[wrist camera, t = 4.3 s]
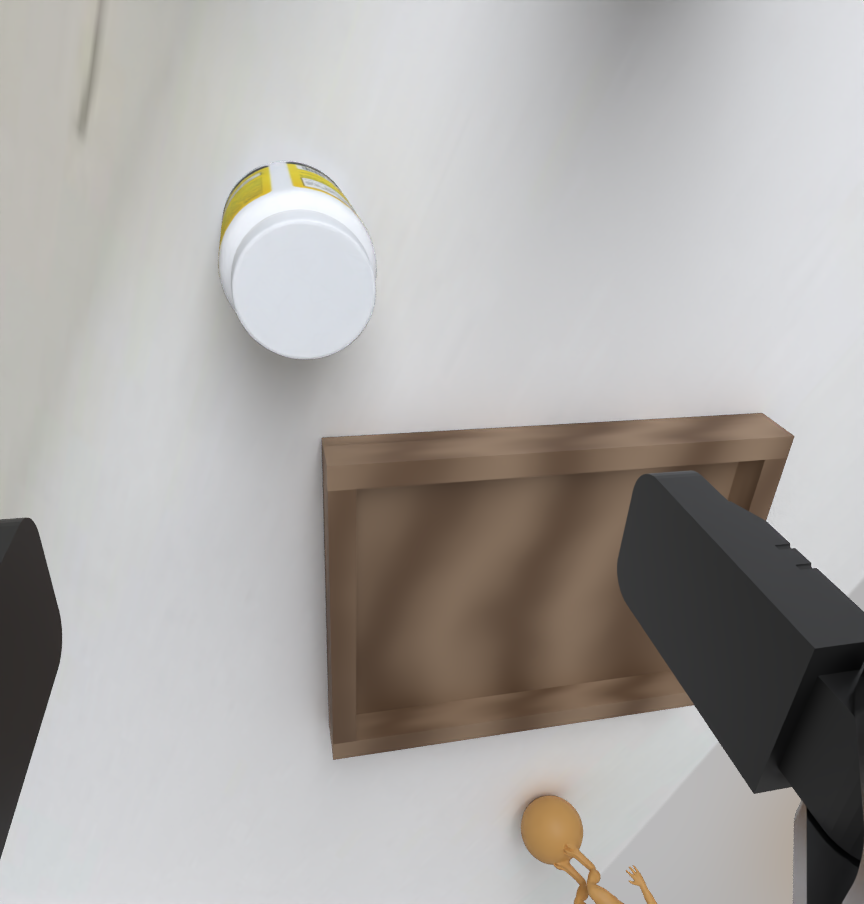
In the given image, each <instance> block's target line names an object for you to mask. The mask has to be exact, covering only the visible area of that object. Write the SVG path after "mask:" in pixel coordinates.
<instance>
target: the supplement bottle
mask: <svg viewBox="0 0 864 904" xmlns="http://www.w3.org/2000/svg"><path fill="white" fill-rule="evenodd" d="M218 268H219V275H220V280H221V284H222V287H223V290H224V293H225V295H226V297H227V299H228V301H229V303H230V305H231V306H232V308H233V309H234V311H235V312H236V314H237V316H238V318H239V320H240V322H241V323H242V325H243V327H244V328H245V329H246V331H247V332H248V333H249V335H250V336H251V337H252V338H253V339H254V340H256V341H257V342H258V343H259V344H260V345H262V346H263V347H265V348H266V349H268V350H270V351H272V352H274V353H276V354H279V355H281V356H284V357H288V358H293V359H317V358H322V357H326V356H329V355H332V354H334V353H336V352H339V351H340V350H342V349H344V348H345V347H347V346H348V345H350V344H351V343H352V342H353V341H354V340H355V339H356V338H357V337H358V336H359V335H360V334H361V333H362V331H363V330H364V328H365V327H366V325H367V323H368V322H369V320H370V317H371V315H372V312H373V308H374V305H375V298H376V282H375V281H376V272H377V268H376V256H375V251H374V247H373V243H372V240H371V238H370V235H369V233H368V231H367V229H366V227H365V226H364V224H363V223H362V221H361V220H360V218H359V217H358V215H357V214H356V212H355V210H354V209H353V207H352V206H351V205H350V203H349V202H348V200H347V199H346V197H345V196H344V194H343V193H342V192H341V190H340V189H339V188H338V186H337V185H336V184H335V183H334V182H333V181H332V180H331V179H330V178H329V177H328V176H327V175H325V174H324V173H322V172H321V171H319V170H318V169H316V168H314V167H312V166H309V165H307V164H303V163H299V162H294V161H276V162H272V163H267V164H264V165H262V166H259V167H257V168H255V169H253V170H252V171H250V172H248V173H247V174H246V175H244V176H243V177H242V178H241V179H240V180H239V181H238V182H237V183H236V185H235V186H234V187H233V189H232V191H231V192H230V194H229V196H228V198H227V201H226V204H225V208H224V212H223V218H222V227H221V237H220V247H219V259H218Z"/></svg>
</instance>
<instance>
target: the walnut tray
mask: <svg viewBox="0 0 864 904" xmlns="http://www.w3.org/2000/svg"><path fill="white" fill-rule="evenodd" d="M793 439H794V436H793V435H792V434H791V433H789V432H788V431H786V430H785V429H784V428H782V427H781V426H780V425H778V424H777V423H775V422H774V421H773V420H771V419H770V418H769V417H767V416H766V415H764V414H763V413H755V414H737V415H719V416H701V417H683V418H666V419H648V420H630V421H612V422H594V423H577V424H559V425H541V426H523V427H505V428H488V429H470V430H452V431H434V432H416V433H399V434H381V435H363V436H345V437H327V438H322V469H323V509H324V548H325V588H326V628H327V667H328V707H329V727H330V736H331V744H332V753H333V760H335V759H342V758H348V757H355V756H362V755H368V754H375V753H381V752H388V751H395V750H401V749H408V748H414V747H421V746H427V745H434V744H441V743H447V742H454V741H460V740H467V739H474V738H480V737H487V736H493V735H500V734H507V733H513V732H520V731H526V730H533V729H539V728H546V727H553V726H559V725H566V724H572V723H579V722H586V721H592V720H599V719H605V718H612V717H618V716H625V715H632V714H638V713H645V712H651V711H658V710H665V709H671V708H678V707H684V706H691V705H694V704H693V702H692V701H691V699H690V698H689V696H688V695H687V693H686V692H685V690H684V689H683V687H682V686H681V685H680V683H679V682H678V680H677V679H676V677H675V676H674V674H673V673H672V671H671V670H670V668H669V667H668V665H667V664H666V662H665V661H664V659H663V658H662V656H661V655H660V653H659V652H658V650H657V649H656V647H655V646H654V644H653V643H652V641H651V640H650V638H649V637H648V635H647V634H646V632H645V631H644V629H643V628H642V626H641V625H640V623H639V622H638V621H637V619H636V618H635V616H634V615H633V613H632V612H631V610H630V609H629V607H628V606H627V604H626V602H625V601H624V599H623V596H622V594H621V591H620V588H619V584H618V577H617V561H618V555H619V551H620V546H621V542H622V537H623V533H624V528H625V524H626V519H627V515H628V510H629V506H630V501H631V497H632V492H633V488H634V485H635V483H636V481H637V479H638V478H639V477H640V476H641V475H643V474H650V473H663V472H677V471H696V472H698V473H699V474H700V475H702V476H703V477H704V478H705V479H706V480H707V481H708V482H709V483H710V484H711V485H712V486H713V487H714V488H715V489H716V490H717V491H718V492H719V493H720V494H722V495H723V496H724V497H725V498H726V499H727V500H728V501H731V502H733V503H735V504H737V505H738V506H740V507H742V508H744V509H746V510H747V511H749V512H751V513H753V514H755V515H756V516H758V517H760V518H762V519H764V520H765V521H766V519H767V516H768V513H769V510H770V507H771V504H772V501H773V498H774V495H775V492H776V489H777V486H778V483H779V481H780V478H781V475H782V472H783V469H784V466H785V463H786V460H787V457H788V454H789V451H790V448H791V445H792V442H793Z"/></svg>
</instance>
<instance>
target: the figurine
mask: <svg viewBox="0 0 864 904" xmlns="http://www.w3.org/2000/svg"><path fill="white" fill-rule="evenodd" d="M521 834H522V838H523V841H524V844H525V846H526V848H527V849H528V851H529V852H530V853H531V854H532V855H533V856H534V857H535V858H536V859H538V860H539V861H541V862H543V863H546V864H551V865H554V866H555V867H556V868H557V869H559V870H564V871H566V872H567V873H568V874H569V875H570V876H572V877H573V878H574V879H575V880H576V881H577V882H578V884H579V885H580V886H579V888H578V890H577V894H576V898H575V900H574V904H586V903H584V902H583V901H584V900H586V899H587V898H588V895H589V896H590V897H591V898H592V899H593V900H594V902H595V903H596V904H624V903H622V902H621V901H619V900H618V899H617V898H616V897H615V896H613V895H612V894H611V893H609V892H608V891H607V890H606V889H604V888H602V887H600V886H598V885H596V883H598V882H599V881H600V873H599V872H598V871H597V870H596V868H595V866H594V865H593V863H592V862H591V861H590V860H589V859H587V858H586V857H585V856H584V855H583V854H582V853H581V852H580V851H579V848H580V846H581V843H582V839H583V826H582V822H581V819H580V816H579V814H578V813H577V811H576V810H575V808H574V807H573V806H572V805H571V804H570V803H569V802H567V801H566V800H564V799H562V798H560V797H557V796H542V797H539V798H537V799H536V800H534V801H533V802H531V803H530V804H529V806H528V807H527V808H526V810H525V812H524V814H523V817H522V821H521ZM572 858H575V859H576V860H578V861H579V862H580V863H581V864H582V865H584V866H585V867H586V868H587V869H588V870H589V871H590V872H589V874H588V880H587V885H586V881H585V880H584V878H583V877H582V876H581V875H580V874H579V873H578V872H577V871H576V870H575V869H574V868H573V867H572V866H571V864H570V859H572ZM633 867H634V869H635V870H636V872H635V871H634V870H633V869H632V868H631V867H629V868H630V869H631V871H632V872H633V874H634V875H633V874H631V873H630V872H628V871H627V870H626V872H627V873H628V874H629V875H630V876H631V877H632V878H633V879H634V881H629V882H630V883H632V884H634V885H638V886H640V888H641V890H642V893H643V895H644V898H645V900H646V902H647V904H657V903H656V901H655V899H654V897H653V896H652V894H651V893H650V891H649V890H648V888H647V886H646V884H645V881H644V879H643V877H642V876H641V874H640V873H639V871H638V870H637V869H636V867H635V866H633Z"/></svg>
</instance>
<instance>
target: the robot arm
mask: <svg viewBox="0 0 864 904" xmlns="http://www.w3.org/2000/svg"><path fill="white" fill-rule="evenodd" d="M617 577H618V584H619V588H620V591H621V594H622V596H623V599H624V601H625V602H626V604H627V606H628V607H629V609H630V610H631V612H632V613H633V615H634V616H635V618H636V619H637V621H638V622H639V623H640V625H641V626H642V628H643V629H644V631H645V632H646V634H647V635H648V637H649V638H650V640H651V641H652V643H653V644H654V646H655V647H656V649H657V650H658V652H659V653H660V655H661V656H662V658H663V659H664V661H665V662H666V664H667V665H668V667H669V668H670V670H671V671H672V673H673V674H674V676H675V677H676V679H677V680H678V682H679V683H680V685H681V686H682V687H683V689H684V690H685V692H686V693H687V695H688V696H689V698H690V699H691V701H692V702H693V704H694V705H695V707H696V708H697V710H698V711H699V713H700V714H701V716H702V717H703V719H704V720H705V722H706V723H707V725H708V726H709V728H710V729H711V731H712V732H713V734H714V735H715V737H716V738H717V740H718V741H719V743H720V744H721V746H722V747H723V749H724V750H725V751H726V753H727V754H728V756H729V757H730V759H731V760H732V762H733V763H734V765H735V766H736V768H737V769H738V771H739V772H740V774H741V775H742V777H743V778H744V779H745V781H746V783H747V784H748V786H749V787H750V789H751V790H752V792H753V793H754V794H755V793H761V792H766V791H772V790H777V789H783V788H788V787H793V789H794V790H795V792H796V793H797V794H798V796H799V797H800V798H801V802H800V805H799V807H798V809H797V811H796V814H795V818H794V855H793V856H794V857H793V904H864V612H863V611H862V610H861V609H860V608H859V607H858V606H857V605H856V604H855V603H854V602H852V600H850V599H849V598H848V597H847V596H846V595H845V594H844V593H843V592H842V591H841V590H840V589H839V588H838V587H836V586H835V585H834V584H833V583H832V582H831V581H830V580H829V579H828V578H827V577H826V576H825V575H824V574H822V573H821V572H820V571H819V570H818V569H817V568H813V569H812V567H811V562H809V561H808V560H807V559H806V558H805V557H804V556H803V555H802V554H801V553H800V552H799V551H798V550H797V549H795V548H793V549H791V548H790V543H789V542H788V541H787V540H786V539H785V538H784V537H783V536H781V535H780V534H779V533H778V532H777V531H776V530H775V529H774V528H773V527H772V526H771V525H770V524H768V523H767V522H766V521H765V520H764V519H762V518H760V517H758V516H756V515H755V514H753V513H751V512H749V511H747V510H746V509H744V508H742V507H740V506H738V505H737V504H735V503H733V502H731V501H728V500H727V499H726V498H725V497H724V496H723V495H722V494H720V493H719V492H718V491H717V490H716V489H715V488H714V487H713V486H712V485H711V484H710V483H709V482H708V481H707V480H706V479H705V478H704V477H703V476H702V475H700V474H699V473H698V472H696V471H677V472H663V473H650V474H643V475H641V476H640V477H639V478H638V479H637V481H636V483H635V485H634V488H633V492H632V497H631V501H630V506H629V510H628V515H627V519H626V524H625V528H624V533H623V537H622V542H621V546H620V551H619V555H618V561H617ZM61 650H62V626H61V618H60V613H59V609H58V605H57V601H56V597H55V593H54V590H53V586H52V582H51V578H50V574H49V570H48V567H47V563H46V559H45V555H44V551H43V547H42V543H41V540H40V536H39V532H38V529H37V527H36V525H35V523H34V522H33V521H32V519H30V518H15V519H1V520H0V858H1V855H2V852H3V849H4V845H5V842H6V839H7V835H8V832H9V829H10V825H11V822H12V819H13V816H14V812H15V809H16V806H17V802H18V799H19V796H20V792H21V789H22V786H23V783H24V779H25V776H26V773H27V769H28V766H29V763H30V759H31V756H32V753H33V750H34V746H35V743H36V740H37V736H38V733H39V730H40V726H41V723H42V720H43V717H44V713H45V710H46V707H47V703H48V700H49V697H50V693H51V690H52V687H53V684H54V680H55V677H56V674H57V670H58V667H59V663H60V658H61Z"/></svg>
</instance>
